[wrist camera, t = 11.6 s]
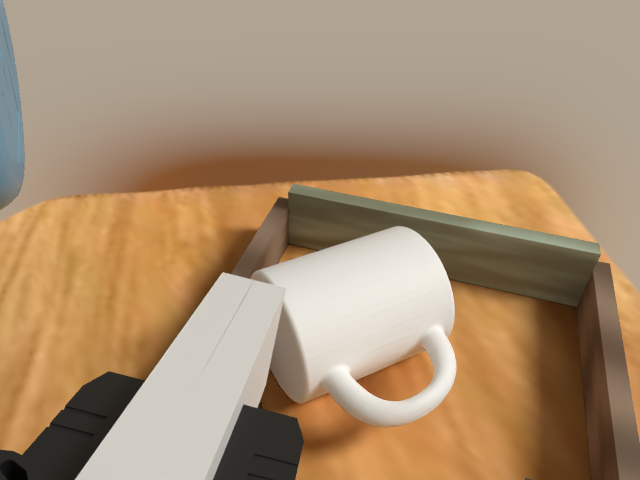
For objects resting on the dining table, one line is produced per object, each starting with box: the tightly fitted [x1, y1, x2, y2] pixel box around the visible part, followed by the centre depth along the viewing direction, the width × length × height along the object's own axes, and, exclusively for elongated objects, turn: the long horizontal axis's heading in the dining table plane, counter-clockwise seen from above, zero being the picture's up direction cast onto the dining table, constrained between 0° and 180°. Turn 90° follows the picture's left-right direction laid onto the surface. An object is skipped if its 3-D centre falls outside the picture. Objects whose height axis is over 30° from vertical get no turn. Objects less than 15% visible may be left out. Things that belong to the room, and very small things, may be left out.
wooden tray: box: [231, 184, 640, 480], centre depth 30 cm, size 30×24×5 cm
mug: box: [250, 226, 456, 427], centre depth 32 cm, size 12×10×8 cm
